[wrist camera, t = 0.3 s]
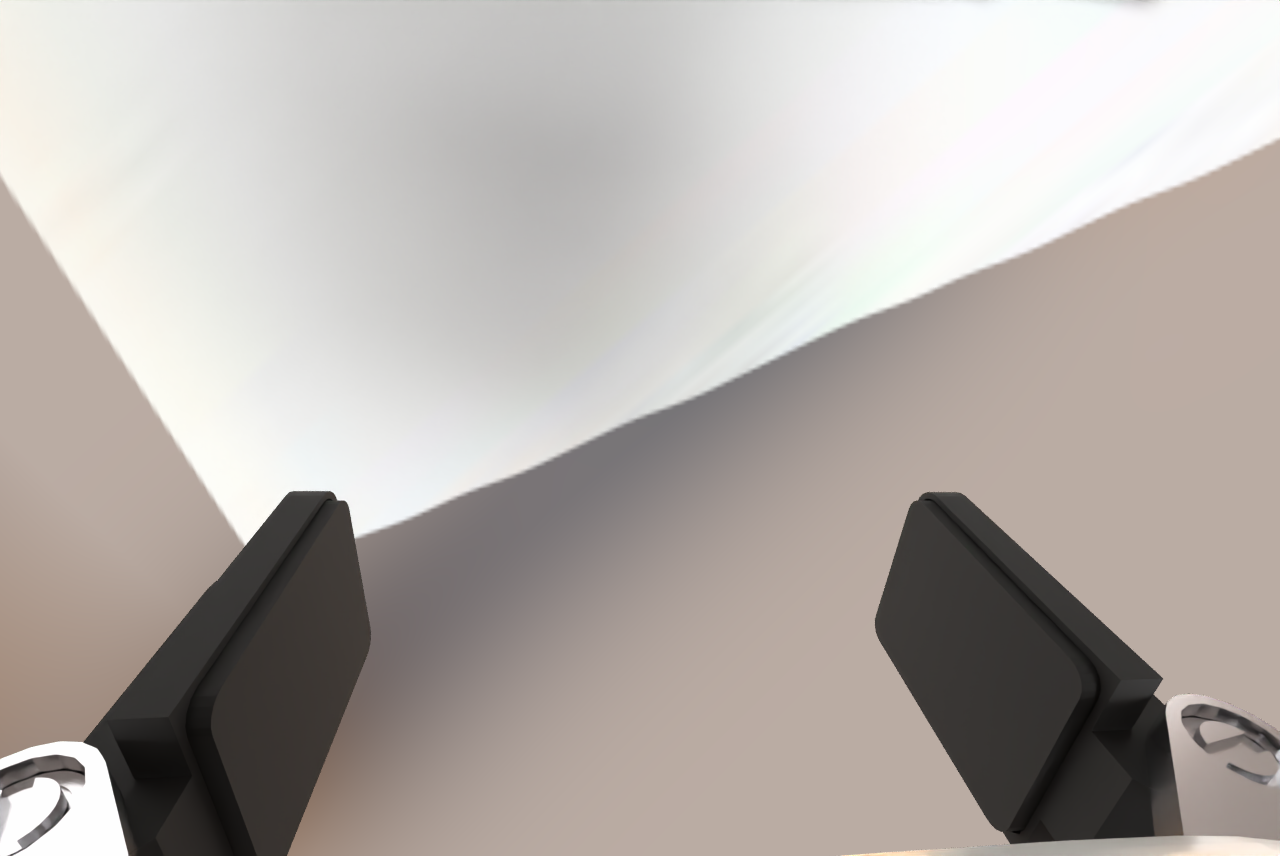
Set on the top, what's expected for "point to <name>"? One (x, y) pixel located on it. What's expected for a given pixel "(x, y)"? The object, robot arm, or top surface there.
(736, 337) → the top surface
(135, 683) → the robot arm
